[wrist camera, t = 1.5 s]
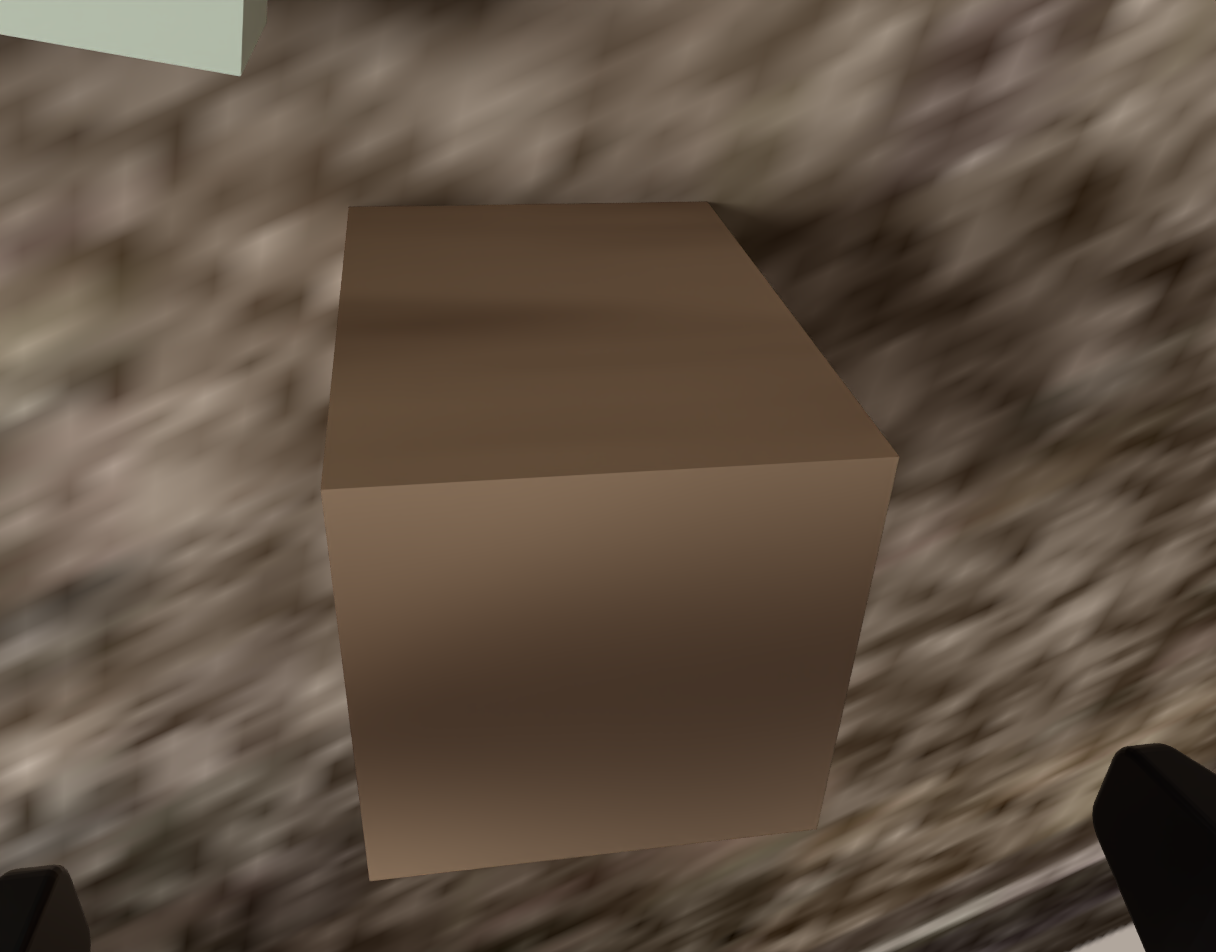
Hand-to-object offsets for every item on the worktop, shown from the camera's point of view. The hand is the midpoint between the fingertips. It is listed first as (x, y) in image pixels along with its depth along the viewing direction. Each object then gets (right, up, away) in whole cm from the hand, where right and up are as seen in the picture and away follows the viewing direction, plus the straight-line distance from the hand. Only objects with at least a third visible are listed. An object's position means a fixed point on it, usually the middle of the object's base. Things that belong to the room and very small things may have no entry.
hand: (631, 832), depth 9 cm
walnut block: (-1, +5, +7) cm, 9 cm away
